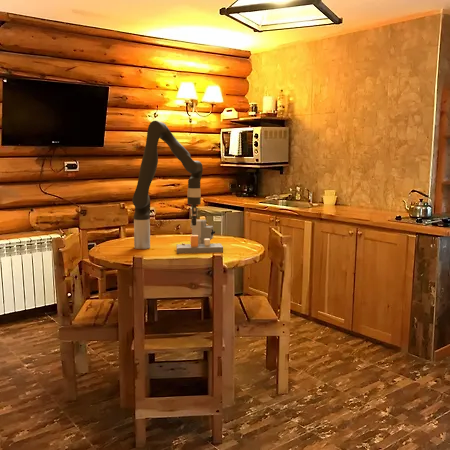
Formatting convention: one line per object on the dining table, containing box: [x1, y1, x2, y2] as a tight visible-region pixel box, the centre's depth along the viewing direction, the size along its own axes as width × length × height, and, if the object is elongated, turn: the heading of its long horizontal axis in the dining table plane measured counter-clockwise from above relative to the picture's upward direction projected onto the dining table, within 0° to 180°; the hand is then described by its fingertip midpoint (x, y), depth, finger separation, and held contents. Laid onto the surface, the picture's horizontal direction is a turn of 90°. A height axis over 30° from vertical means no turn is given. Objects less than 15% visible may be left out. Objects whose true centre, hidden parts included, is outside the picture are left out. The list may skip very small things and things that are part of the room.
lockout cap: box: [190, 234, 198, 246], centre depth 294 cm, size 4×4×6 cm
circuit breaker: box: [189, 219, 216, 244], centre depth 314 cm, size 8×14×15 cm, turn 78°
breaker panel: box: [176, 242, 224, 254], centre depth 294 cm, size 26×12×4 cm, turn 97°
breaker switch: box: [204, 238, 211, 246], centre depth 295 cm, size 3×4×4 cm
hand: (193, 224), depth 292 cm, fingers open, 8 cm apart
